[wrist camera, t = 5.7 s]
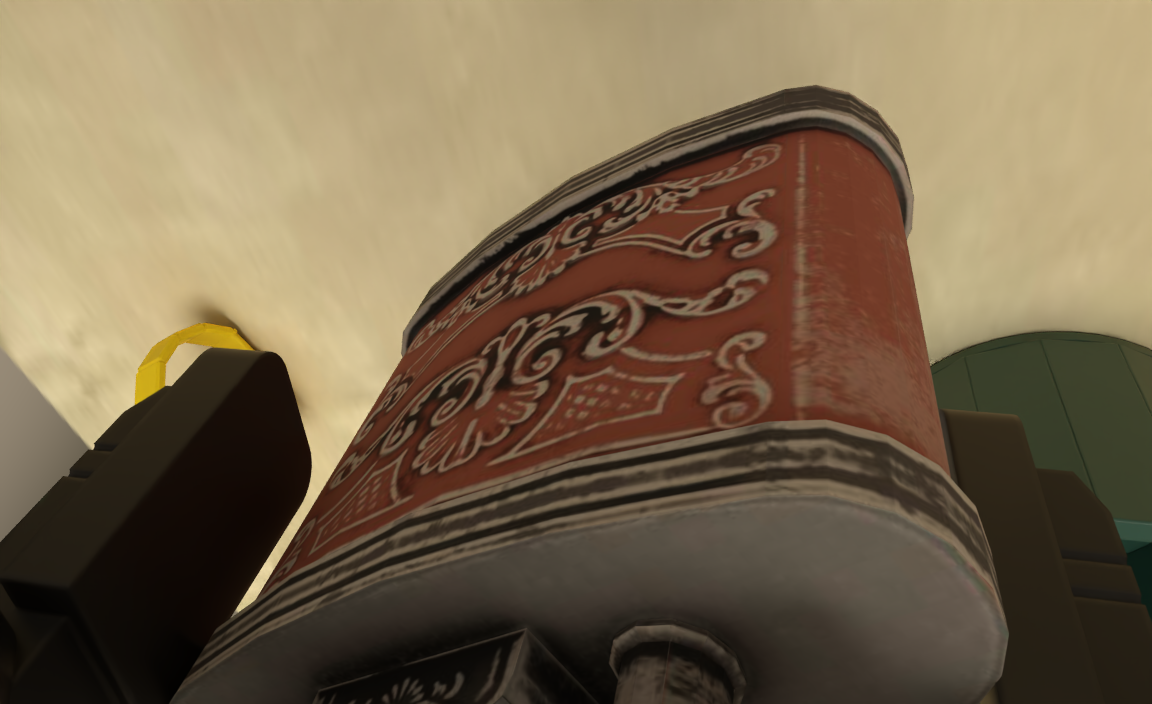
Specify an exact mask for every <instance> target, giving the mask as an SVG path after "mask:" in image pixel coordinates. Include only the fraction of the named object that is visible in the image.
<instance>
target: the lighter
mask: <svg viewBox="0 0 1152 704" xmlns="http://www.w3.org/2000/svg"><path fill="white" fill-rule="evenodd" d="M913 202H914V195H913V191H912V186H911V182H910V177H909V172H908V168H907V165H906V162H905V158H904V155H903V152H902V149H901V146H900V143H899V139H898V137H897V136H896V134H895V133H894V132H893V130H892V129H891V128H890V126H889V125H888V124H887V123H886V121H885V120H884V119H883V117H882V116H881V115H880V114H879V112H878V111H877V110H875V109H874V108H872V107H871V106H869V105H868V104H866V103H864V102H863V101H861V100H860V99H858V98H857V97H855V96H854V95H852V94H850V93H849V92H844V91H840V90H836V89H831V88H827V87H822V86H818V85H813V86H805V87H798V88H791V89H784V90H781V91H779V92H776V93H773V94H770V95H767V96H764V97H761V98H758V99H755V100H753V101H750V102H747V103H744V104H741V105H738V106H735V107H732V108H729V109H727V110H724V111H721V112H718V113H715V114H712V115H709V116H706V117H703V118H701V119H698V120H695V121H692V122H689V123H686V124H683V125H680V126H677V127H674V128H672V129H670V130H668V131H666V132H664V133H662V134H660V135H658V136H655V137H653V138H651V139H649V140H647V141H645V142H643V143H641V144H639V145H637V146H635V147H633V148H631V149H629V150H627V151H624V152H622V153H620V154H618V155H616V156H614V157H612V158H610V159H608V160H606V161H604V162H602V163H600V164H598V165H595V166H593V167H591V168H589V169H587V170H585V171H583V172H581V173H579V174H577V175H575V176H573V177H571V178H570V179H568V180H567V181H566V182H564V183H563V184H561V185H560V186H558V187H557V188H555V189H554V190H552V191H551V192H549V193H548V194H547V195H545V196H544V197H542V198H541V199H539V200H538V201H536V202H535V203H533V204H532V205H530V206H529V207H528V208H526V209H525V210H523V211H522V212H520V213H519V214H517V215H516V216H514V217H513V218H511V219H510V220H509V221H507V222H506V223H504V224H503V225H501V226H500V227H498V228H497V229H495V230H494V231H493V232H491V233H490V234H489V235H488V236H487V237H486V238H485V239H484V240H483V241H481V242H480V243H479V244H478V245H477V246H476V247H475V248H474V249H473V250H472V251H471V252H469V253H468V254H467V255H466V256H465V257H464V258H463V259H462V260H461V261H460V262H458V263H457V264H456V265H455V266H454V267H453V268H452V269H451V270H450V271H449V272H447V273H446V274H445V275H444V276H443V277H442V278H441V279H440V280H439V281H438V282H436V283H435V284H434V285H433V286H432V287H431V289H430V290H429V292H428V294H427V295H426V297H425V298H424V300H423V301H422V303H421V305H420V306H419V308H418V309H417V311H416V312H415V314H414V316H413V317H412V319H411V320H410V322H409V324H408V325H407V327H406V328H405V330H404V332H403V339H402V351H401V354H402V357H403V358H402V359H401V361H400V363H399V364H398V366H397V368H396V369H395V371H394V373H393V374H392V376H391V378H390V379H389V381H388V382H387V384H386V386H385V387H384V389H383V391H382V392H381V394H380V396H379V397H378V399H377V401H376V402H375V404H374V406H373V407H372V409H371V411H370V412H369V414H368V415H367V417H366V419H365V420H364V422H363V424H362V425H361V427H360V429H359V430H358V432H357V434H356V435H355V437H354V439H353V440H352V442H351V444H350V445H349V447H348V448H347V450H346V452H345V453H344V455H343V457H342V458H341V460H340V462H339V463H338V465H337V467H336V468H335V470H334V472H333V473H332V475H331V476H330V478H329V480H328V481H327V483H326V485H325V486H324V488H323V490H322V491H321V493H320V495H319V496H318V498H317V500H316V501H315V503H314V505H313V506H312V508H311V509H310V511H309V513H308V514H307V516H306V518H305V519H304V521H303V523H302V524H301V526H300V528H299V529H298V531H297V533H296V534H295V536H294V538H293V539H292V541H291V542H290V544H289V546H288V547H287V549H286V551H285V552H284V554H283V556H282V557H281V559H280V561H279V562H278V564H277V566H276V567H275V569H274V570H273V572H272V574H271V575H270V577H269V579H268V580H267V582H266V584H265V585H264V587H263V589H262V590H261V592H260V594H259V595H258V597H257V599H256V600H255V601H254V602H252V603H251V604H250V605H248V606H247V607H246V608H244V609H243V610H241V611H240V612H239V613H237V614H236V615H235V616H233V617H232V618H230V619H229V620H228V621H226V622H225V623H224V624H222V625H221V626H219V627H218V628H217V629H216V630H215V632H214V633H213V635H212V637H211V638H210V640H209V641H208V643H207V644H206V646H205V648H204V649H203V651H202V652H201V654H200V655H199V657H198V659H197V660H196V662H195V663H194V665H193V667H192V668H191V670H190V671H189V673H188V675H187V676H186V678H185V679H184V681H183V682H182V684H181V686H180V687H179V689H178V690H177V692H176V694H175V695H174V697H173V698H172V700H171V701H170V703H169V704H979V703H980V702H981V701H982V700H983V698H984V697H985V696H986V695H987V693H988V692H989V691H990V690H991V689H992V687H993V686H994V685H995V682H997V681H998V680H999V679H1000V678H1001V676H1002V672H1003V666H1004V660H1005V655H1006V649H1007V643H1008V637H1009V632H1008V627H1007V622H1006V618H1005V613H1004V609H1003V604H1002V599H1001V595H1000V590H999V586H998V581H997V577H996V572H995V567H994V563H993V558H992V554H991V550H990V547H989V544H988V541H987V538H986V535H985V532H984V529H983V526H982V523H981V520H980V518H979V515H978V512H977V509H976V506H975V505H974V504H973V503H972V502H971V501H970V499H969V498H968V497H967V496H966V495H965V494H964V493H963V491H962V490H961V489H960V488H959V487H958V486H957V485H956V484H955V482H954V481H953V480H952V479H951V476H950V470H949V465H948V460H947V454H946V449H945V444H944V438H943V433H942V428H941V422H940V417H939V412H938V406H937V401H936V396H935V390H934V385H933V379H932V374H931V369H930V363H929V358H928V353H927V347H926V342H925V337H924V331H923V326H922V321H921V315H920V310H919V305H918V299H917V294H916V289H915V283H914V278H913V272H912V267H911V262H910V256H909V251H908V246H907V238H908V236H909V234H910V232H911V230H912V219H913Z"/></svg>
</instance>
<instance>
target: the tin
mask: <svg viewBox="0 0 1152 704" xmlns="http://www.w3.org/2000/svg"><path fill="white" fill-rule="evenodd" d="M930 369H931V374H932V379H933V385H934V390H935V396H936V401H937V406H938V409H951V410H963V411H975V412H988V413H1000V414H1012V415H1017V416H1018V417H1019V418H1020V420H1021V421H1022V424H1023V427H1024V430H1025V434H1026V437H1027V441H1028V444H1029V447H1030V451H1031V454H1032V458H1033V461H1034V464H1035V468H1042V469H1053V470H1063V471H1073V472H1074V473H1075V474H1076V475H1077V476H1078V477H1079V478H1080V479H1081V480H1082V481H1083V483H1084V484H1085V485H1086V486H1087V487H1088V488H1089V489H1090V490H1091V491H1092V492H1093V493H1094V494H1095V496H1096V497H1097V498H1098V499H1099V500H1100V501H1101V502H1102V503H1103V504H1104V505H1105V506H1106V507H1107V508H1108V510H1109V511H1110V512H1111V514H1112V517H1113V519H1114V522H1115V525H1116V528H1117V530H1118V533H1119V536H1120V538H1121V541H1122V544H1123V546H1124V549H1125V552H1126V555H1127V566H1131V568H1132V571H1133V573H1134V576H1135V579H1136V581H1137V584H1138V587H1139V590H1140V592H1141V604H1142V605H1145V606H1146V608H1147V611H1148V614H1149V617H1150V619H1151V622H1152V351H1151V350H1149V349H1147V348H1145V347H1142V346H1139V345H1136V344H1133V343H1130V342H1128V341H1125V340H1121V339H1116V338H1111V337H1107V336H1102V335H1096V334H1087V333H1078V332H1043V333H1032V334H1022V335H1017V336H1012V337H1006V338H1001V339H997V340H993V341H990V342H987V343H983V344H980V345H976V346H974V347H971V348H969V349H966V350H964V351H961V352H959V353H956V354H954V355H952V356H950V357H948V358H946V359H944V360H942V361H941V362H939V363H937V364H935V365H933V366H932V367H930Z"/></svg>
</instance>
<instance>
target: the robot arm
mask: <svg viewBox="0 0 1152 704" xmlns="http://www.w3.org/2000/svg"><path fill="white" fill-rule="evenodd" d="M938 412H939V417H940V422H941V428H942V433H943V438H944V444H945V449H946V454H947V460H948V465H949V470H950V476H951V479H952V480H953V481H954V482H955V484H956V485H957V486H958V487H959V488H960V489H961V490H962V491H963V493H964V494H965V495H966V496H967V497H968V498H969V499H970V501H971V502H972V503H973V504H974V505H975V506H976V509H977V512H978V515H979V518H980V520H981V523H982V526H983V529H984V532H985V535H986V538H987V541H988V544H989V547H990V550H991V554H992V558H993V563H994V567H995V572H996V577H997V581H998V586H999V590H1000V595H1001V599H1002V604H1003V609H1004V613H1005V618H1006V622H1007V627H1008V632H1009V637H1008V643H1007V649H1006V655H1005V660H1004V666H1003V672H1002V676H1001V678H1000V679H999V680H998V681H997V682H995V685H994V686H993V687H992V689H991V690H990V691H989V692H988V693H987V695H986V696H985V697H984V698H983V700H982V701H981V702H980V703H979V704H1152V622H1151V619H1150V617H1149V614H1148V611H1147V608H1146V606H1145V605H1142V604H1141V592H1140V590H1139V587H1138V584H1137V581H1136V579H1135V576H1134V573H1133V571H1132V568H1131V566H1127V555H1126V552H1125V549H1124V546H1123V544H1122V541H1121V538H1120V536H1119V533H1118V530H1117V528H1116V525H1115V522H1114V519H1113V517H1112V514H1111V512H1110V511H1109V510H1108V508H1107V507H1106V506H1105V505H1104V504H1103V503H1102V502H1101V501H1100V500H1099V499H1098V498H1097V497H1096V496H1095V494H1094V493H1093V492H1092V491H1091V490H1090V489H1089V488H1088V487H1087V486H1086V485H1085V484H1084V483H1083V481H1082V480H1081V479H1080V478H1079V477H1078V476H1077V475H1076V474H1075V473H1074V472H1073V471H1063V470H1053V469H1042V468H1035V464H1034V461H1033V458H1032V454H1031V451H1030V447H1029V444H1028V441H1027V437H1026V434H1025V430H1024V427H1023V424H1022V421H1021V420H1020V418H1019V417H1018V416H1017V415H1012V414H1000V413H988V412H975V411H963V410H951V409H938ZM94 444H95V447H94V449H93V450H88V451H87V452H86V453H85V454H84V455H83V456H82V457H81V458H80V459H79V460H78V461H77V462H76V463H75V464H74V465H73V466H72V467H71V468H70V474H69V476H68V477H65V476H63V477H62V478H61V479H60V480H59V481H58V482H57V483H56V484H55V485H54V486H53V487H52V488H51V489H50V491H48V493H47V494H46V495H45V496H44V497H43V498H42V499H41V500H40V501H39V502H38V503H37V504H36V505H35V506H34V507H33V508H32V509H31V510H30V511H29V513H28V514H27V515H26V516H25V517H24V518H23V519H22V520H21V521H20V522H19V523H18V524H17V525H16V526H15V527H14V528H13V529H12V530H11V531H10V533H9V534H8V535H7V536H6V537H5V538H4V539H3V540H2V541H1V542H0V704H169V703H170V701H171V700H172V698H173V697H174V695H175V694H176V692H177V690H178V689H179V687H180V686H181V684H182V682H183V681H184V679H185V678H186V676H187V675H188V673H189V671H190V670H191V668H192V667H193V665H194V663H195V662H196V660H197V659H198V657H199V655H200V654H201V652H202V651H203V649H204V648H205V646H206V644H207V643H208V641H209V640H210V638H211V637H212V635H213V633H214V632H215V630H216V629H217V628H218V627H219V626H221V625H222V624H224V623H225V622H226V621H228V620H229V619H230V618H231V616H232V614H233V613H234V611H235V610H236V608H237V607H238V605H239V603H240V602H241V600H242V599H243V597H244V595H245V594H246V592H247V591H248V589H249V587H250V586H251V584H252V583H253V581H254V579H255V578H256V576H257V575H258V573H259V571H260V570H261V568H262V567H263V565H264V563H265V562H266V560H267V559H268V557H269V555H270V554H271V552H272V551H273V549H274V547H275V546H276V544H277V543H278V541H279V539H280V538H281V536H282V535H283V533H284V531H285V530H286V528H287V526H288V525H289V523H290V522H291V520H292V518H293V517H294V515H295V514H296V512H297V510H298V509H299V507H300V506H301V504H302V502H303V500H304V498H305V496H306V493H307V490H308V487H309V483H310V478H311V468H312V459H311V452H310V447H309V444H308V440H307V437H306V433H305V430H304V427H303V423H302V420H301V416H300V413H299V409H298V406H297V402H296V399H295V395H294V392H293V388H292V385H291V382H290V378H289V375H288V371H287V368H286V365H285V363H284V361H283V360H282V358H281V357H280V356H279V355H278V354H276V353H274V352H266V351H254V350H242V349H229V348H210V349H208V350H206V351H204V352H203V353H202V354H201V355H200V356H199V357H198V358H197V359H196V360H195V361H194V362H193V364H192V365H191V366H190V367H189V368H188V369H187V370H186V371H185V372H184V373H183V374H182V376H181V377H180V378H179V379H178V380H177V381H176V382H175V383H174V384H173V385H172V386H165V387H163V388H162V389H160V390H158V391H157V392H155V393H154V394H152V395H150V396H149V397H147V398H146V399H144V400H142V401H141V402H139V403H138V404H136V405H134V406H133V407H131V408H130V409H128V410H126V411H125V412H124V413H123V414H122V415H121V416H120V417H119V418H118V419H117V420H116V421H115V422H114V423H113V424H112V425H111V426H110V427H109V428H108V429H107V430H106V431H105V433H104V434H103V435H102V436H101V437H100V438H99V439H98V440H97V441H96V442H95V443H94Z"/></svg>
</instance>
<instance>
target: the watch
mask: <svg viewBox="0 0 1152 704" xmlns="http://www.w3.org/2000/svg"><path fill="white" fill-rule="evenodd" d="M236 332H238V331H237V330H236V329H232V328H231V327H227V326H221V325H215V324H209V323H203V324H201V323H198V324H196V325H193V326H191V327H188V328H186V329H183V330H181V331H178V332H176V333H174V334H172V335H171V336H169V337H167V338H165V339H164V340H162V341H160V342H159V343H157V344H156V345H155V346H153V347H152V349H151V350H150V352H149V353H148V355H147V356H146V358H145V359H144V361H143V362H142V364H141V365H140V367H139V368H138V373H137V374H136V390H135V405H136V404H138V403H139V402H141V401H142V400H144V399H146V398H147V397H149V396H150V395H152V394H154V393H155V392H157V391H158V390H160V389H162V388H163V387H165V373H166V363H167V362H168V360H169V359H170V357H171V356H172V354H173V353H174V351H175V349H176V348H177V346H178V345H181V344H183V343H185V342H186V343H192V344H198V345H205V346H212V347H213V348H229V349H242V350H253V349H252V348H251V347H250V345H249V344H248V343H247V342H246V341H244V340H243V339H242V338H241V337H240V336H239V335H238V334H237V333H236Z"/></svg>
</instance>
